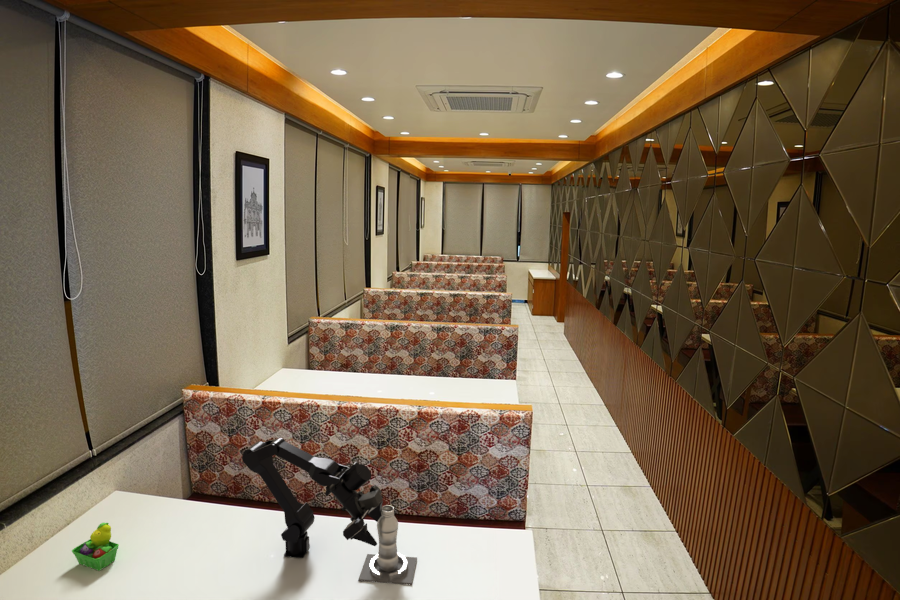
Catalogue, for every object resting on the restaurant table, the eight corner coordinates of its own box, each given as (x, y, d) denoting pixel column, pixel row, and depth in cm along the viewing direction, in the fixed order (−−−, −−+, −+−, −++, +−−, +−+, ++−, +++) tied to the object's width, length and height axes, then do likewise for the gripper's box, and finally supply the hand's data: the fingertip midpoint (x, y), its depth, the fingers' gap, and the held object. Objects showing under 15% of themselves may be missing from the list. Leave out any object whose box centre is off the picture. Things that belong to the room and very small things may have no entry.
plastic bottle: (388, 578, 159) (388, 517, 155) (372, 568, 163) (372, 509, 159) (403, 566, 164) (403, 507, 161) (386, 557, 168) (386, 500, 165)
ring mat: (358, 580, 158) (358, 579, 158) (367, 555, 170) (367, 553, 170) (411, 584, 157) (411, 583, 157) (416, 559, 169) (416, 557, 169)
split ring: (366, 579, 158) (366, 574, 158) (374, 554, 169) (374, 550, 169) (403, 582, 158) (403, 577, 157) (409, 557, 169) (409, 552, 168)
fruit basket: (71, 565, 162) (67, 532, 160) (99, 548, 171) (95, 516, 169) (98, 575, 159) (94, 541, 156) (125, 557, 167) (122, 524, 165)
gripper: (352, 499, 151) (388, 541, 151) (377, 468, 169) (409, 505, 169) (327, 519, 155) (362, 560, 154) (354, 487, 173) (386, 523, 172)
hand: (381, 535), depth 162 cm, fingers open, 9 cm apart
